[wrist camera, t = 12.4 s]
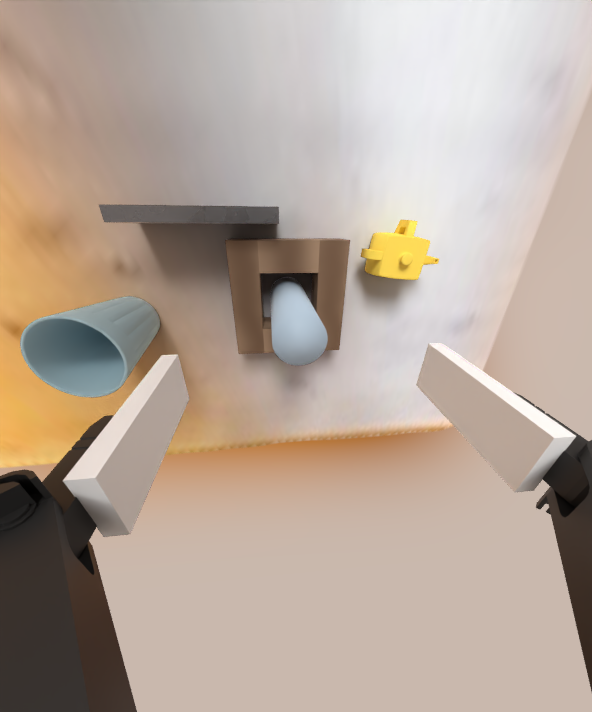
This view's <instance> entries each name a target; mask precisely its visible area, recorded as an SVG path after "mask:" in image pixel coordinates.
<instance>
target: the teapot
mask: <svg viewBox="0 0 592 712" xmlns="http://www.w3.org/2000/svg"><path fill="white" fill-rule="evenodd" d="M416 225H417V221H411V220H400V222H399V224H398V226H397V228H396V230H395V232H394V233H374V234H373V236H372V239H371V243H370V247H369V249H362V252H361V257H364V258H367V261H366V266H365V271H366V272H367V273H369V274H372V275H375V276H380V277H386V278H394V279H406V280H417V279H418V278H419V275H420V272H421V269H422V266H423V265H427V264H438V261H439V259H438V258H434V257H430V256H426V254H427V251H428V248H429V244H430V241H429V240H426V239H422V238H419V237H414V232H415V229H416Z"/></svg>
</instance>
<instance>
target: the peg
mask: <svg viewBox="0 0 592 712" xmlns="http://www.w3.org/2000/svg"><path fill="white" fill-rule="evenodd" d="M270 298H271V327H272V346H273V349H274V352H275V353H276V355H277V356H278V357H279V358H280V359H281V360H282V361H284V362H286V363H288V364H291V365H306V364H309V363H311V362H313V361H315V360H317V359H318V358H319V357H320V356H321V355H322V354H323V352H324V350H325V348H326V346H327V341H328V336H327V332H326V329H325V327H324V325H323V323H322V322H321V320H320V318H319V316H318V314H317V313H316V311H315V309H314V307H313V306H312V304H311V302H310V300H309V298H308V297H307V295H306V293H305V291H304V290H303V288H302V286H301V284H300V283H299V282H298V281H297V280H296V279H294V278H292V277H282V278H280V279H278V280H276V281H275V282H274V284H273V285H272V287H271V291H270Z"/></svg>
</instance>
